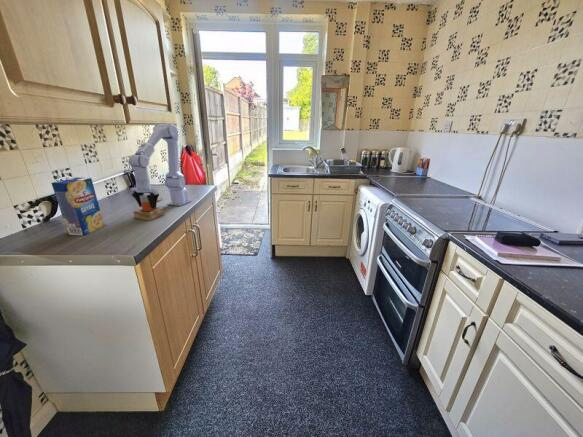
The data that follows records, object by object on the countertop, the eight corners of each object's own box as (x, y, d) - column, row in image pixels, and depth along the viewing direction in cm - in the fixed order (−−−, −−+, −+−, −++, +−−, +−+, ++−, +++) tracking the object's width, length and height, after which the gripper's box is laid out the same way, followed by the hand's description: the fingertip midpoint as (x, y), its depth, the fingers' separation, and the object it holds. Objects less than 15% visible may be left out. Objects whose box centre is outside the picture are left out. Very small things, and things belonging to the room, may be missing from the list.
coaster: (152, 197, 155) (152, 197, 155) (164, 199, 153) (164, 198, 153) (140, 201, 147) (140, 200, 147) (152, 203, 145) (152, 202, 145)
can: (149, 214, 127) (145, 193, 124) (158, 215, 126) (154, 194, 122) (141, 217, 123) (136, 196, 119) (149, 218, 121) (145, 197, 117)
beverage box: (104, 225, 112) (91, 177, 104) (83, 235, 102) (67, 183, 94) (90, 224, 113) (76, 177, 105) (68, 234, 102) (51, 182, 95)
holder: (149, 212, 130) (148, 206, 128) (164, 214, 127) (162, 208, 126) (134, 218, 121) (133, 211, 120) (149, 220, 119) (148, 213, 118)
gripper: (123, 180, 116) (129, 207, 121) (147, 183, 112) (153, 211, 117) (136, 177, 122) (141, 203, 127) (159, 180, 119) (164, 206, 123)
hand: (147, 207), depth 123 cm, fingers open, 7 cm apart
